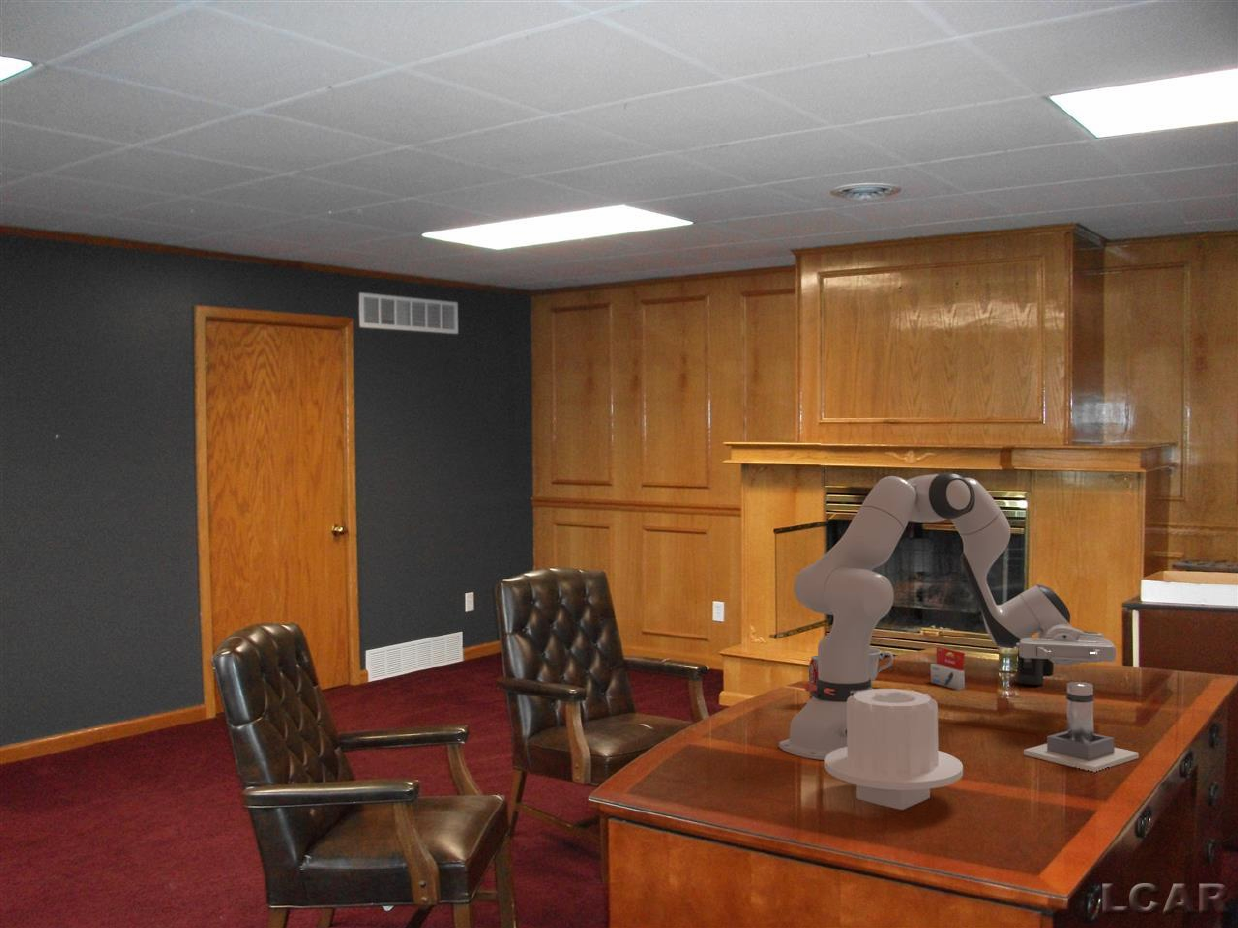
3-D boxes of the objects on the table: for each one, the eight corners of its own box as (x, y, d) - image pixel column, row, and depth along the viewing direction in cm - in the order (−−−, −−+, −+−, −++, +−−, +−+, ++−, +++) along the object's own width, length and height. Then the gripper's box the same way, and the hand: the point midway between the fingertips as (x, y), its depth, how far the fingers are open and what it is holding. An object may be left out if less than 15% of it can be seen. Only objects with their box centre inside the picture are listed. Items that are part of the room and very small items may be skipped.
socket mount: (1094, 772, 219) (1094, 752, 219) (1023, 754, 232) (1023, 735, 232) (1138, 757, 228) (1138, 738, 228) (1068, 741, 241) (1068, 723, 241)
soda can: (830, 709, 274) (829, 661, 274) (804, 705, 279) (803, 658, 278) (842, 703, 280) (841, 656, 280) (817, 700, 284) (816, 653, 284)
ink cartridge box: (958, 690, 292) (957, 653, 292) (930, 682, 302) (929, 647, 302) (965, 689, 293) (965, 652, 293) (937, 681, 303) (936, 646, 303)
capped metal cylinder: (1085, 756, 226) (1083, 688, 226) (1061, 750, 230) (1060, 683, 230) (1099, 751, 229) (1098, 684, 229) (1076, 746, 234) (1075, 680, 233)
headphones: (1040, 688, 293) (1039, 613, 293) (1015, 685, 296) (1014, 611, 296) (1055, 672, 312) (1054, 602, 311) (1032, 670, 315) (1031, 600, 315)
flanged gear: (798, 799, 206) (796, 698, 205) (872, 770, 223) (870, 677, 223) (918, 831, 188) (916, 721, 187) (988, 796, 205) (986, 695, 205)
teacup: (894, 692, 291) (894, 654, 291) (837, 691, 294) (836, 653, 294) (892, 682, 303) (892, 646, 302) (837, 681, 306) (836, 645, 305)
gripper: (1014, 629, 257) (1020, 639, 244) (1109, 633, 252) (1120, 643, 238) (1014, 656, 257) (1020, 667, 244) (1109, 661, 252) (1120, 672, 238)
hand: (1070, 655), depth 241 cm, fingers open, 8 cm apart
